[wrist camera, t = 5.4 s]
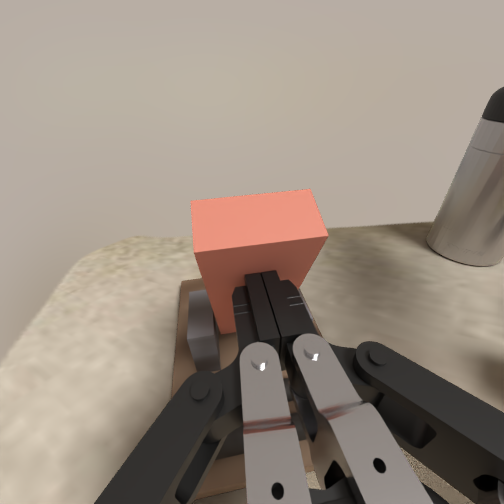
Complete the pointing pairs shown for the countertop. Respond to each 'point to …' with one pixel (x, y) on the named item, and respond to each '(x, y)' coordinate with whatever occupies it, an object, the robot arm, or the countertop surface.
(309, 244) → the lever
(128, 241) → the countertop surface
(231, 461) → the switch board
